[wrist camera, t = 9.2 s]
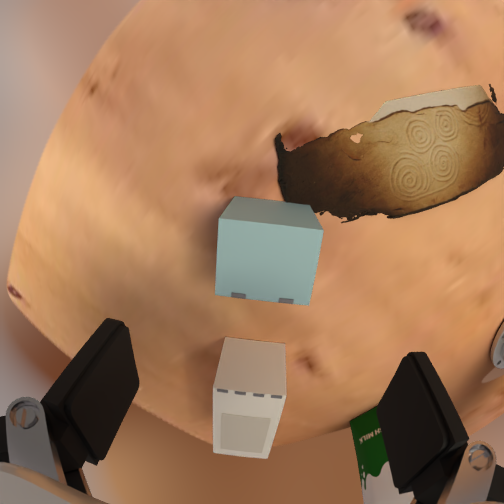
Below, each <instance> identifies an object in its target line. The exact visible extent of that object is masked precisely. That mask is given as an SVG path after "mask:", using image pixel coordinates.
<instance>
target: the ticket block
mask: <svg viewBox="0 0 504 504" xmlns="http://www.w3.org/2000/svg"><path fill="white" fill-rule="evenodd" d="M286 396H287V390H286V352H285V343H275V342H265V341H256V340H247V339H239V338H231V337H225V340H224V344H223V348H222V352H221V356H220V360H219V365H218V369H217V373H216V377H215V381H214V385H213V452H214V453H220V454H227V455H235V456H243V457H253V458H266V459H267V458H268V455H269V452H270V449H271V446H272V443H273V440H274V437H275V433H276V430H277V427H278V424H279V420H280V417H281V413H282V410H283V407H284V403H285V400H286Z"/></svg>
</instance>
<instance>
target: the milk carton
mask: <svg viewBox="0 0 504 504" xmlns="http://www.w3.org/2000/svg"><path fill="white" fill-rule="evenodd" d="M376 410H377V406H376V407H375V408H373V409H371V410H369V411H368V412H366V413H364V414H362V415H361V416H359V417H357V418H355V419H353V420H351V421H350V425H351V430H352V435H353V440H354V445H355V450H356V455H357V461H358V468H359V474H360V479H361V487H362V493H363V500H364V504H410V503H411V501H412V499H413V498H414V494H413V491H412V492H408V493H404V494H399V491H398V488H395V487H394V484H393V479H392V475H391V470H390V466H389V461H388V457H387V453H386V449H385V445H384V441H383V437H382V433H381V429H380V425H379V422H378V418H377V414H376Z"/></svg>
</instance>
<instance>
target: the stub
mask: <svg viewBox="0 0 504 504" xmlns="http://www.w3.org/2000/svg"><path fill="white" fill-rule="evenodd" d="M323 231H324V230H323V228H322V226H321V225H320V223H319V221H318V219H317V217H316V216H315V214H314V212H313V210H312V208H311V207H310V205H303V204H295V203H286V202H283V201H275V200H266V199H256V198H247V197H237V196H235V197H234V198H233V199H232V201H231V202H230V204H229V205H228V206H227V208H226V209H225V210H224V212H223V213H222V215H221V216H220V218H219V224H218V242H217V262H216V284H215V295H219V296H227V297H234V298H242V299H252V300H261V301H270V302H279V303H288V304H299V305H309V303H310V298H311V294H312V289H313V284H314V279H315V274H316V269H317V264H318V259H319V253H320V248H321V243H322V237H323Z"/></svg>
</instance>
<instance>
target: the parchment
mask: <svg viewBox="0 0 504 504" xmlns="http://www.w3.org/2000/svg"><path fill="white" fill-rule="evenodd" d="M489 87H490V92H491V91H492V95H491V97H492V100H493V101H494V102H496V101H497V99H496V96H495V92H494V88H492V87H491V85H490V84H489ZM492 100H491V99H489V97H488V96H487V94H486V92H485V91H484V89H483V88H482V87H481V86H480V85H475V86H469V87H461V88H454V89H449V90H443V91H438V92H432V93H426V94H421V95H415V96H410V97H406V98H402V99H401V98H400V99H395V100H392V101H386V102H385V103H383V105H382V107H381V108H380V109H379V111H378V112H377V113H376V114H375V115H374V116H373V118H372V119H371V120H370V121H365V122H362V123H360V124H358V125H356V126H354V127H353V128H351V129H350V130H348V129H340V130H337V131H336V132H334V133H332V134H330V135H329V136H328V137H320V138H317V139H316V140H314V141H311V142H308V143H306V144H304V145H303V146H301V147H297V148H296V150H295V149H294V150H292V151H291V152H290V151H286V150H285V149H284V144H283V143H282V142H281V137H282V136H281V134H280V133H279V134H278V135H277V137H276V138H275V140H276V146H277V148H276V150H277V152H278V157H279V165H278V170H279V180H278V181H279V183H280V185H281V189H282V193H283V196H284V198H285V201H286V203H295V204H303V205H310V207H311V208H312V210H313V212H314V213H318V212H321V211H324V212H326V211H329V213H331V214H332V215H333V216H337V217H339V218H341V217H347V220H348V221H343V222H341V223H344V222H349V221H354V220H356V219H358V218H359V217H361V216H365V215H377V213H383V214H385V215H388V216H387V218H393V219H394V218H400V217H403V216H406V215H410V214H415V213H419V212H423V211H425V210H428V209H432V208H434V207H437V206H439V205H442V204H445V203H448V202H450V201H454V200H456V199H458V198H459V197H460V196H462V195H465V194H467V193H469V192H471V191H473V190H475V189H477V188H478V187H480V186H481V185H482V184H484V183H485V182H487V181H488V180H490V179H492V178H494V177H496V176H497V175H499V174H500V173H501V172H502V170H503V169H504V168H503V167H504V114H502V113H501V114H500V112H499V111H498V108H497V107H496V106H495V105H494V104H493V103H492ZM357 133H360V134H363V136H362V137H361V139H360V143H355V142H353V141H352V140H351V139H350V137H351V135H356V134H357ZM286 149H287V148H286ZM324 212H321V213H320V215H322V214H323V213H324ZM360 213H361V214H360ZM355 215H357V217H355ZM353 216H354V218H353ZM341 219H342V218H341Z"/></svg>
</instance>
